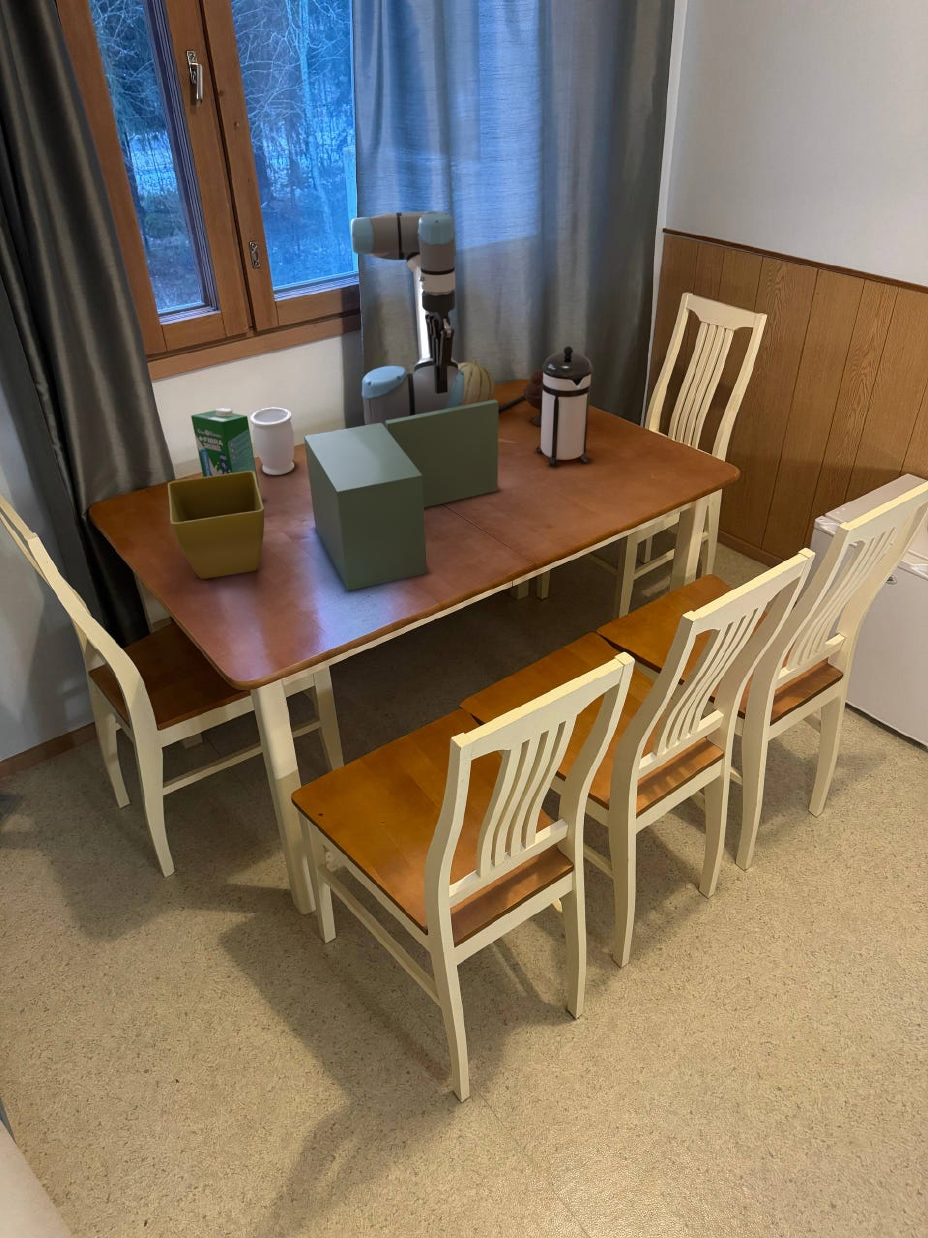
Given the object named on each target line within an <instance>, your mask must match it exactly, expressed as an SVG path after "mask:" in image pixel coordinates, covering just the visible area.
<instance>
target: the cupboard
mask: <svg viewBox="0 0 928 1238" xmlns="http://www.w3.org/2000/svg"><path fill="white" fill-rule="evenodd" d="M303 440H304V447H305V456H306V463H307V473H308V479H309V487H310V488H309V489H310V495H311V504H312V512H313V520H314V527H315V528H314V529H315V531H316V533H317V535H318V536H319V539H320V541H321V542H322V545H323V547H324V548H325V550H326V552H327V554H328V556H329V558H330V560H331V562H332V564H333V565H334V567H335V569H336V571H337V573H338V575H339V577H340V579H341V581H342V583H343V585H344V587H345V588H346V591H347V592H350V591H354V590H359V589H364V588H368V587H371V586H372V587H373V586H376V585H380V584H385V583H390V582H395V581H398V580H404V579H408V578H411V577H417V576H420V575H425V574H427V573H428V571H427V568H428V567H427V548H426V547H427V546H426V528H425V527H426V525H425V523H426V522H425V508H424V500H423V480H422V479H423V478H422V474H421V473H420V472H419V470H418V469H417V468H416V466H415V465H414V464H413V463H412V461H411V460H410V459H409V457H408V456H407V455H406V454H405V452H404V451H403V450H402V448H401V447H400V446H399V445H398V443H397V442H396V441H395V439H394V438H393V437H392V436H391V434H390V433H389V432H388V430H387V429H386V428H385V427H384V425H383V424H382V423H376V424H371V425H365V424H364V425H360V426H354V427H349V428H343V429H336V430H331V431H324V432H320V433H319V432H318V433H313V434H307V435H303Z"/></svg>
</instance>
